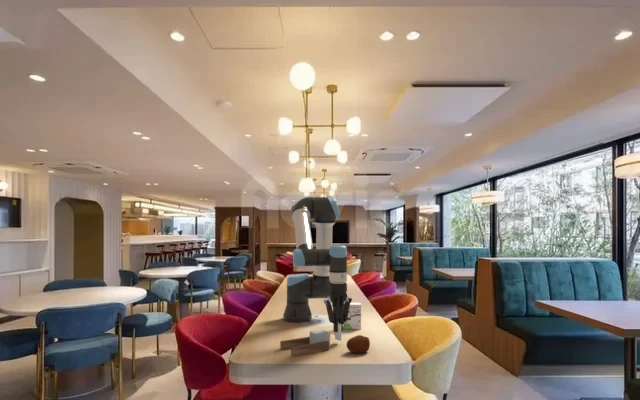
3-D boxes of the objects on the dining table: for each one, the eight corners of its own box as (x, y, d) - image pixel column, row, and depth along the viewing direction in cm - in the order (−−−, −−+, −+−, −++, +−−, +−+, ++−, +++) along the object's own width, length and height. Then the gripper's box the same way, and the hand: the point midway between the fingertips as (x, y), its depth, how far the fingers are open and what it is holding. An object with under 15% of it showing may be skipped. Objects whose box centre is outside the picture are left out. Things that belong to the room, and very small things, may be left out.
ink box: (343, 329, 188) (343, 304, 189) (343, 326, 193) (343, 302, 194) (361, 329, 188) (361, 304, 189) (360, 326, 193) (360, 302, 194)
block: (309, 346, 161) (309, 331, 162) (322, 344, 164) (322, 329, 165) (317, 350, 156) (317, 334, 157) (329, 347, 159) (329, 332, 160)
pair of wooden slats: (280, 348, 157) (280, 341, 158) (315, 342, 165) (315, 335, 166) (292, 356, 148) (292, 348, 148) (329, 349, 156) (329, 342, 156)
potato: (372, 355, 150) (372, 337, 150) (347, 355, 149) (347, 338, 149) (368, 349, 157) (368, 333, 157) (344, 350, 156) (344, 333, 156)
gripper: (329, 284, 160) (329, 344, 158) (355, 282, 167) (356, 339, 165) (320, 282, 167) (320, 339, 165) (345, 280, 173) (345, 335, 172)
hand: (338, 339), depth 165 cm, fingers closed
